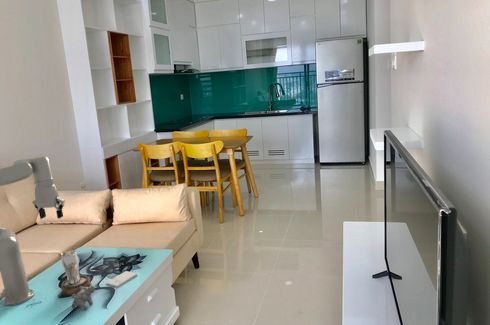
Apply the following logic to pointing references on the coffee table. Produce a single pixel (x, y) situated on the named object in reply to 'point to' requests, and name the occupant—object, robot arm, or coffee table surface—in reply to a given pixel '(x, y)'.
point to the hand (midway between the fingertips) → (51, 217)
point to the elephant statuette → (83, 297)
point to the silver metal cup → (71, 267)
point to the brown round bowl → (75, 286)
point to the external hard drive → (121, 279)
